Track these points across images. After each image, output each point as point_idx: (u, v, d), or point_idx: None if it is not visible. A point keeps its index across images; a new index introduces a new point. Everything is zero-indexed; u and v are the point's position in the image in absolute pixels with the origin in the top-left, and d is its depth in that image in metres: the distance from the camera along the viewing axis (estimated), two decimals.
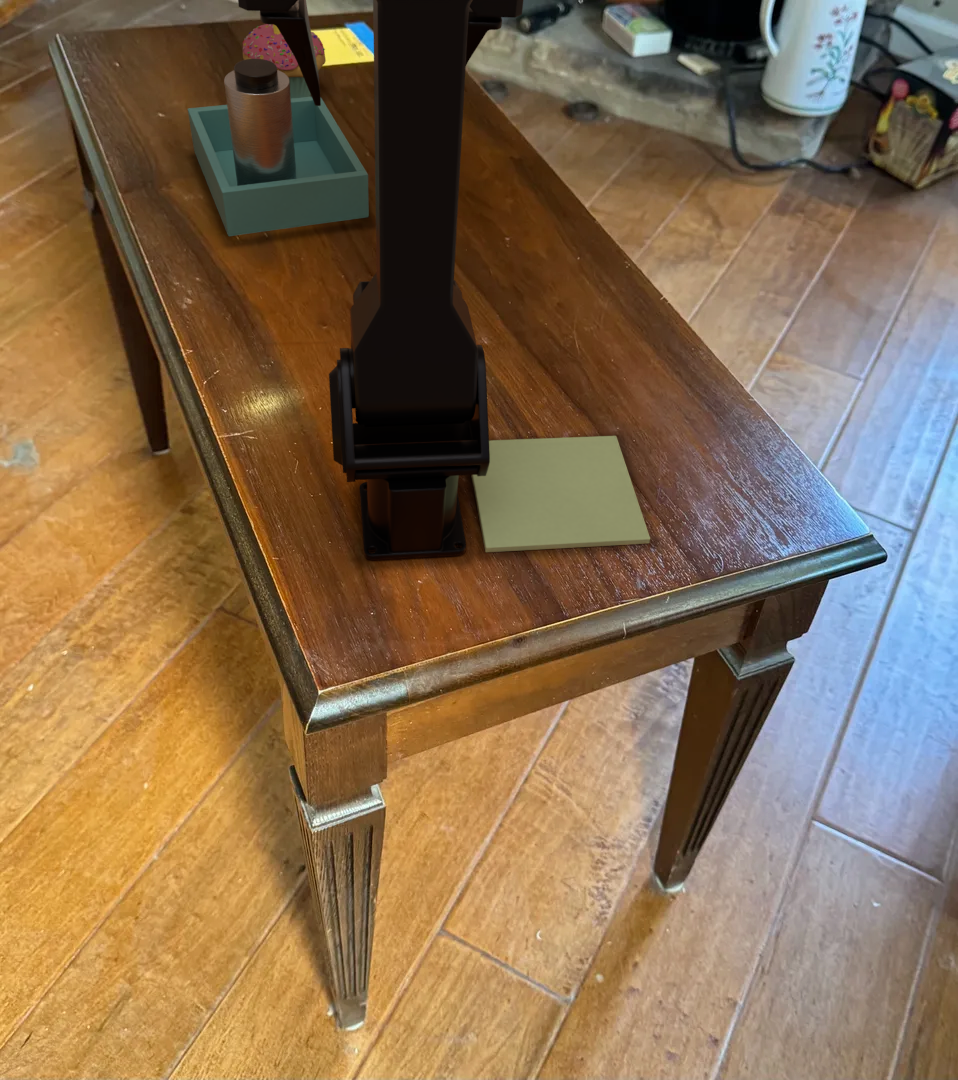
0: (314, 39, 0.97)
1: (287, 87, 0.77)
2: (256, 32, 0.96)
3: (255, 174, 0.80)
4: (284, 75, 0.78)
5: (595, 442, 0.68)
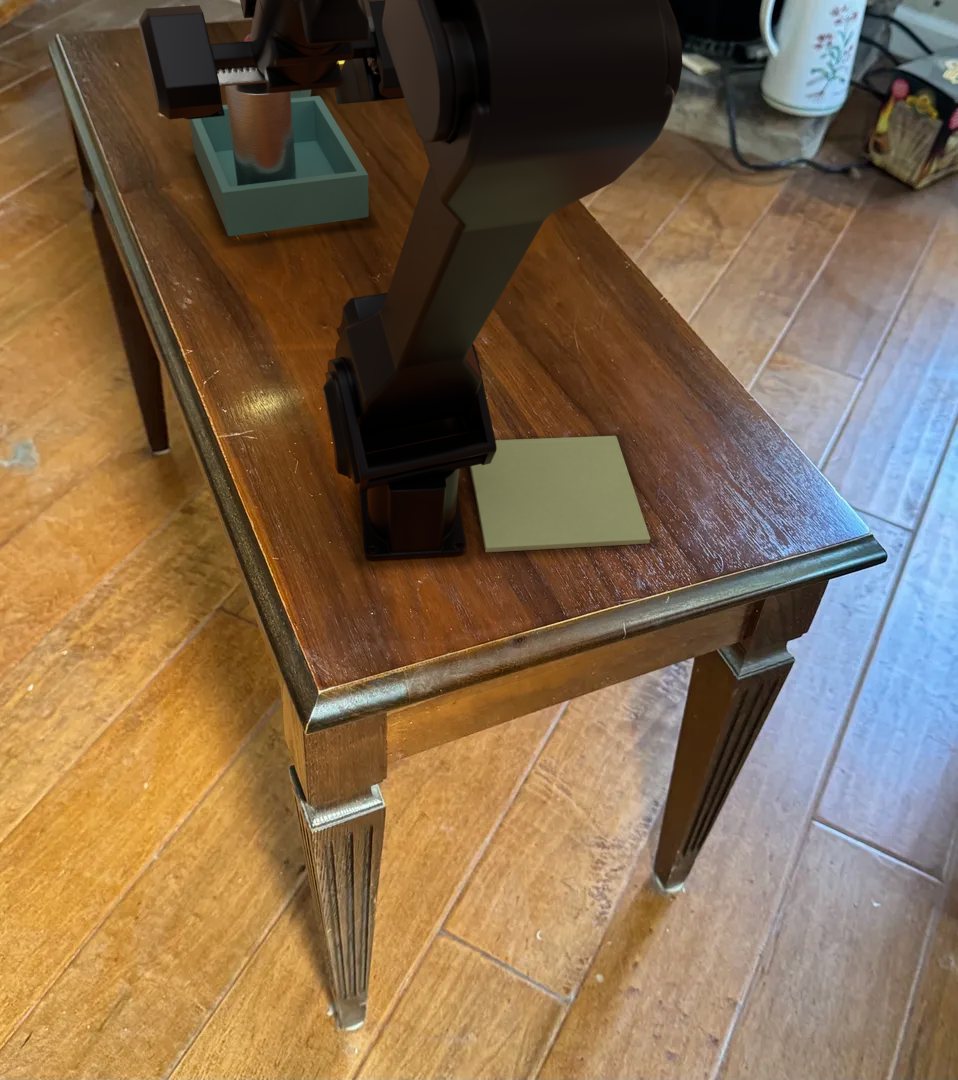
0: None
1: None
2: None
3: (255, 174, 0.80)
4: None
5: (595, 442, 0.68)
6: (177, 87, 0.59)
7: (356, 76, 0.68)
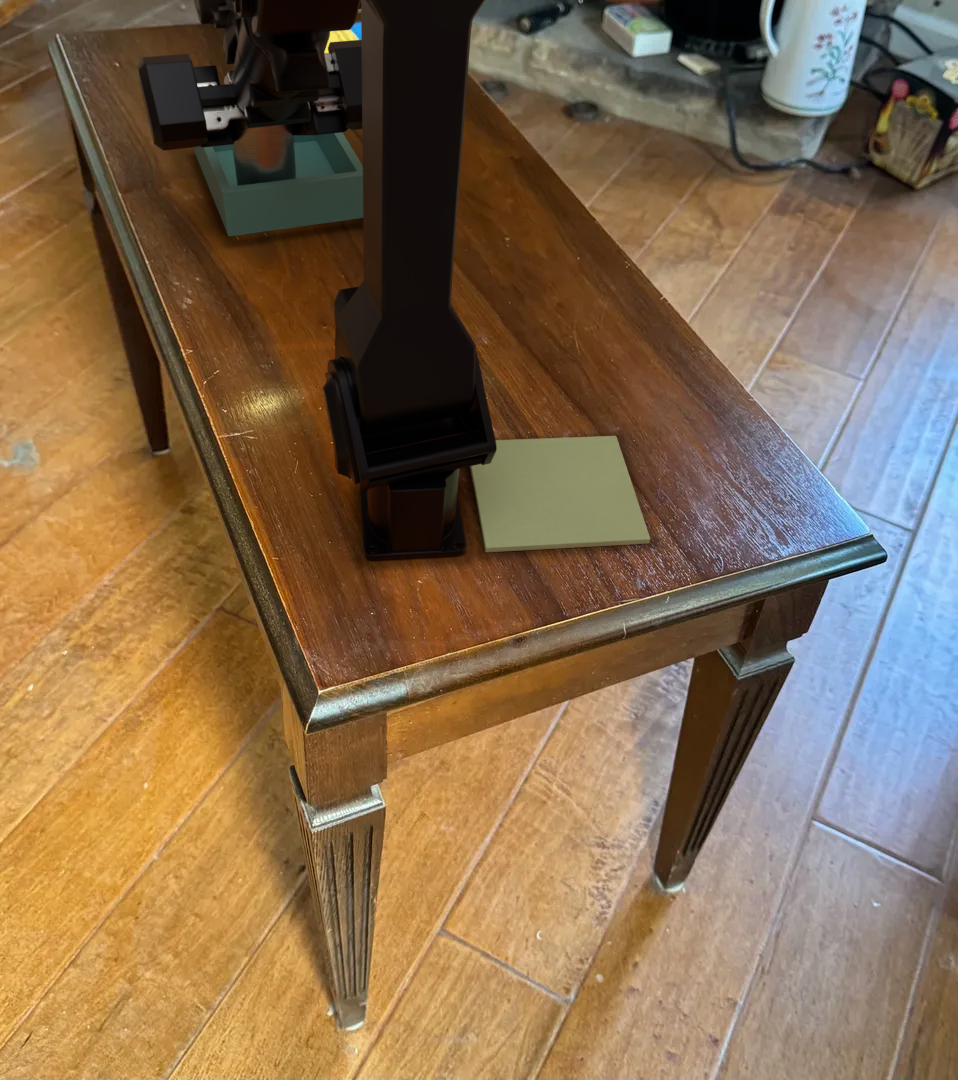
0: None
1: None
2: None
3: (255, 174, 0.80)
4: None
5: (595, 442, 0.68)
6: (169, 124, 0.70)
7: None
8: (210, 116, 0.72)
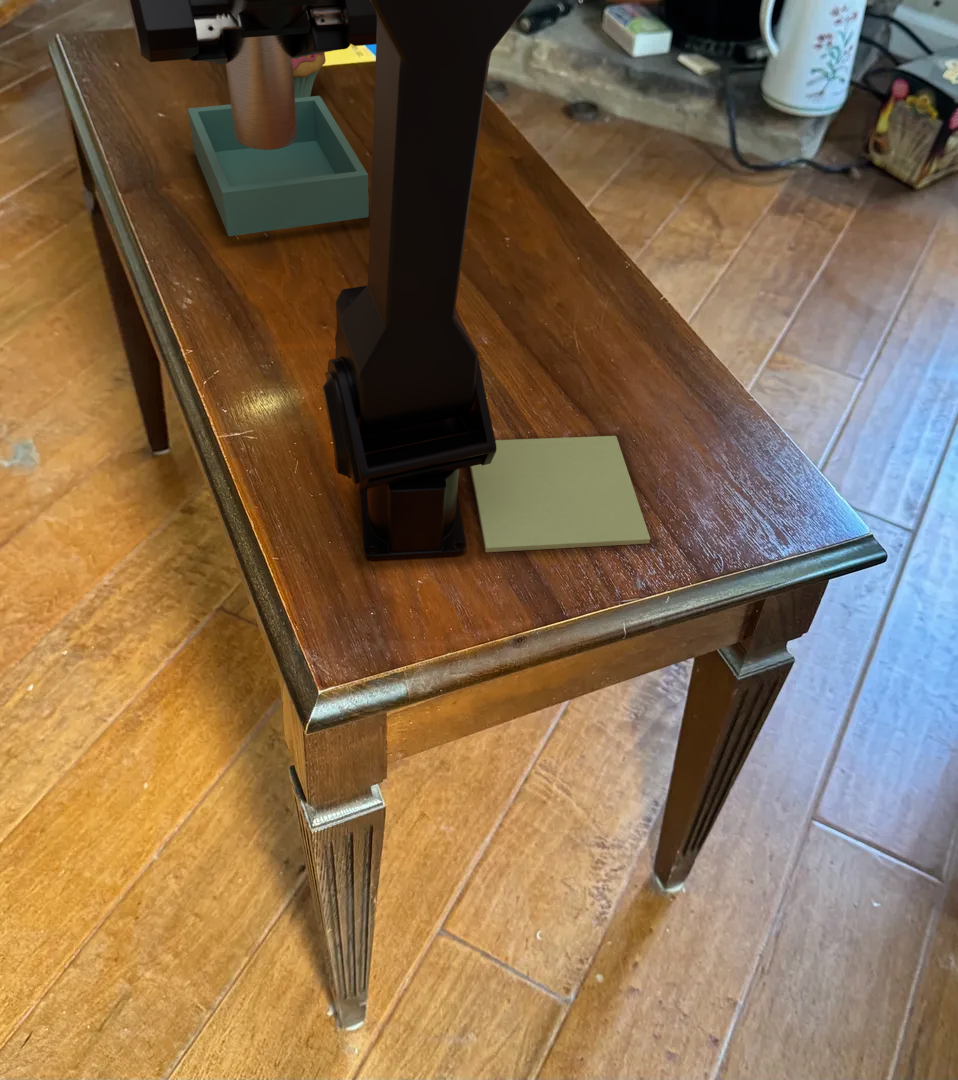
0: None
1: None
2: None
3: (250, 98, 0.75)
4: None
5: (595, 442, 0.68)
6: (156, 30, 0.65)
7: None
8: (201, 24, 0.67)
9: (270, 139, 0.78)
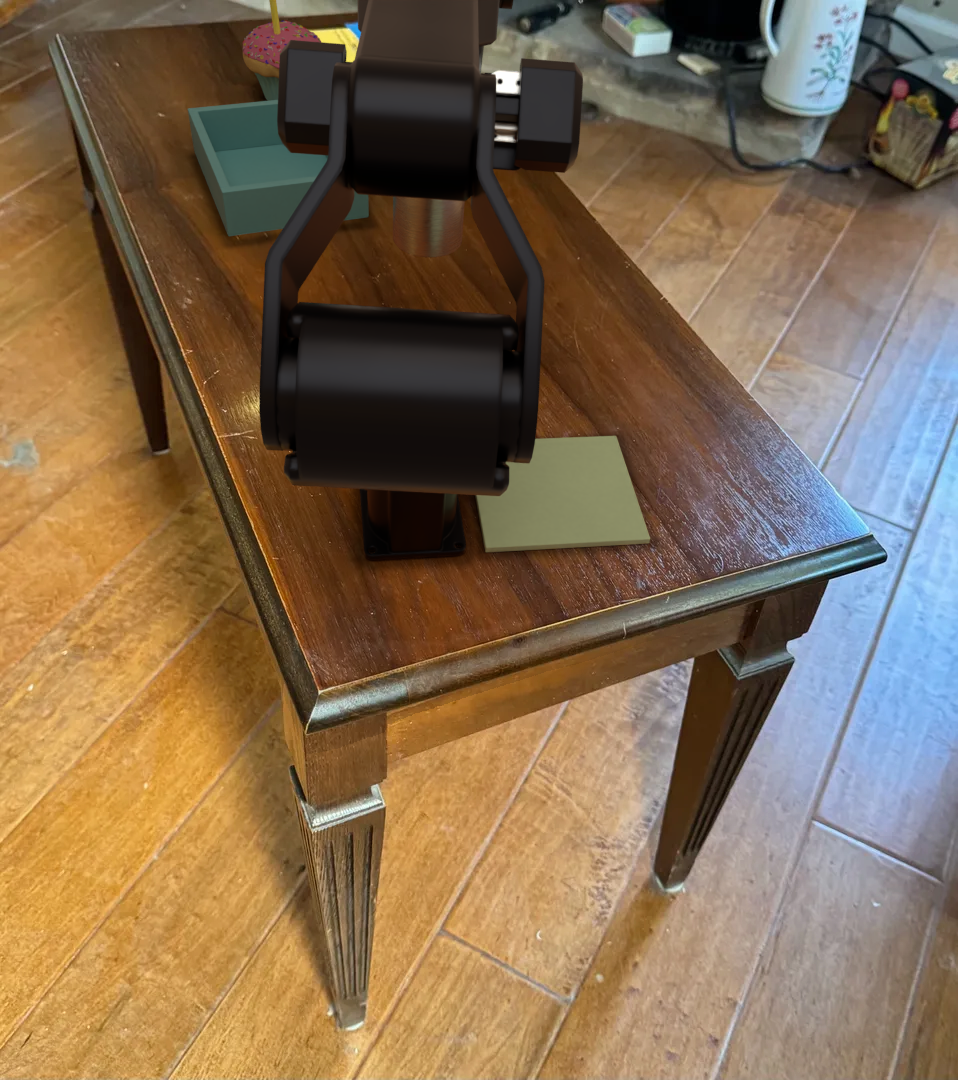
0: (314, 39, 0.97)
1: None
2: (256, 32, 0.96)
3: (409, 200, 0.66)
4: None
5: (595, 442, 0.68)
6: (296, 122, 0.57)
7: None
8: None
9: (424, 246, 0.69)
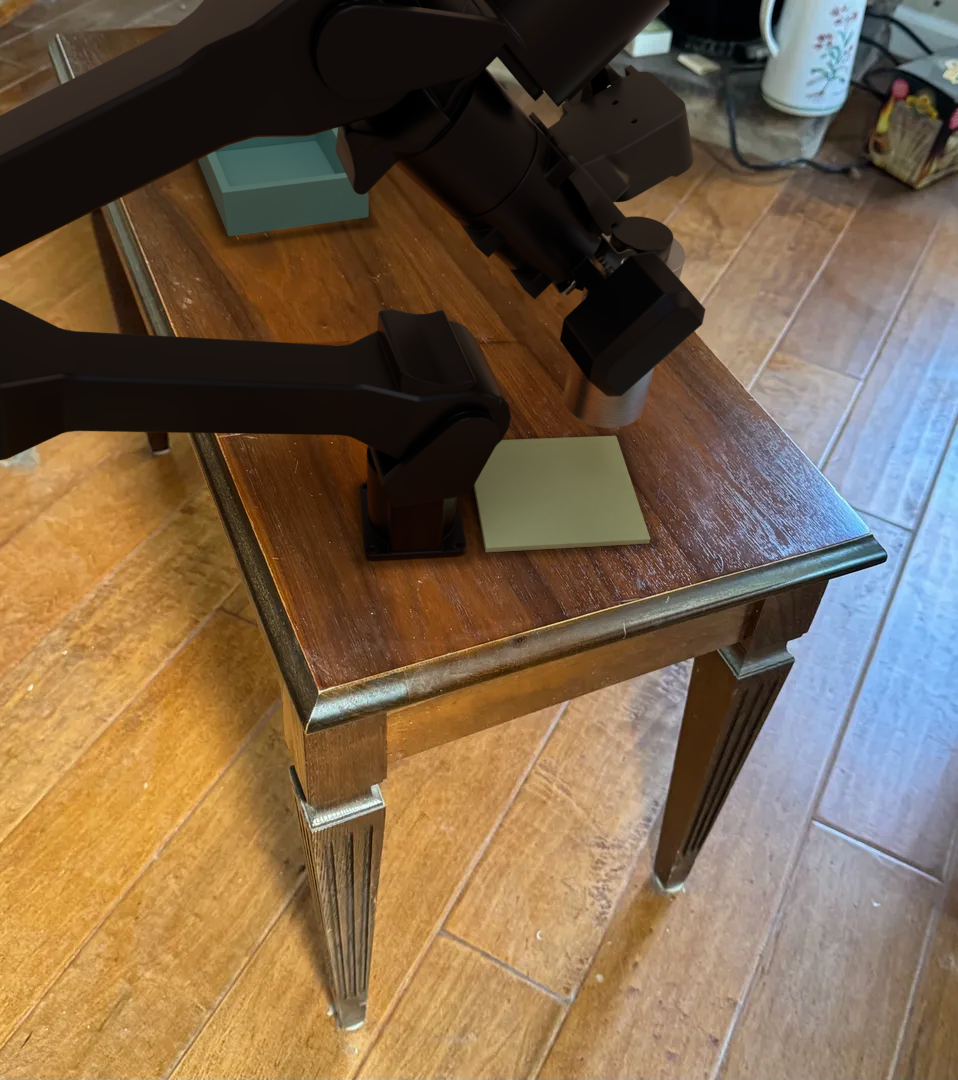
0: None
1: None
2: None
3: None
4: None
5: (595, 442, 0.68)
6: None
7: None
8: None
9: (568, 396, 0.59)
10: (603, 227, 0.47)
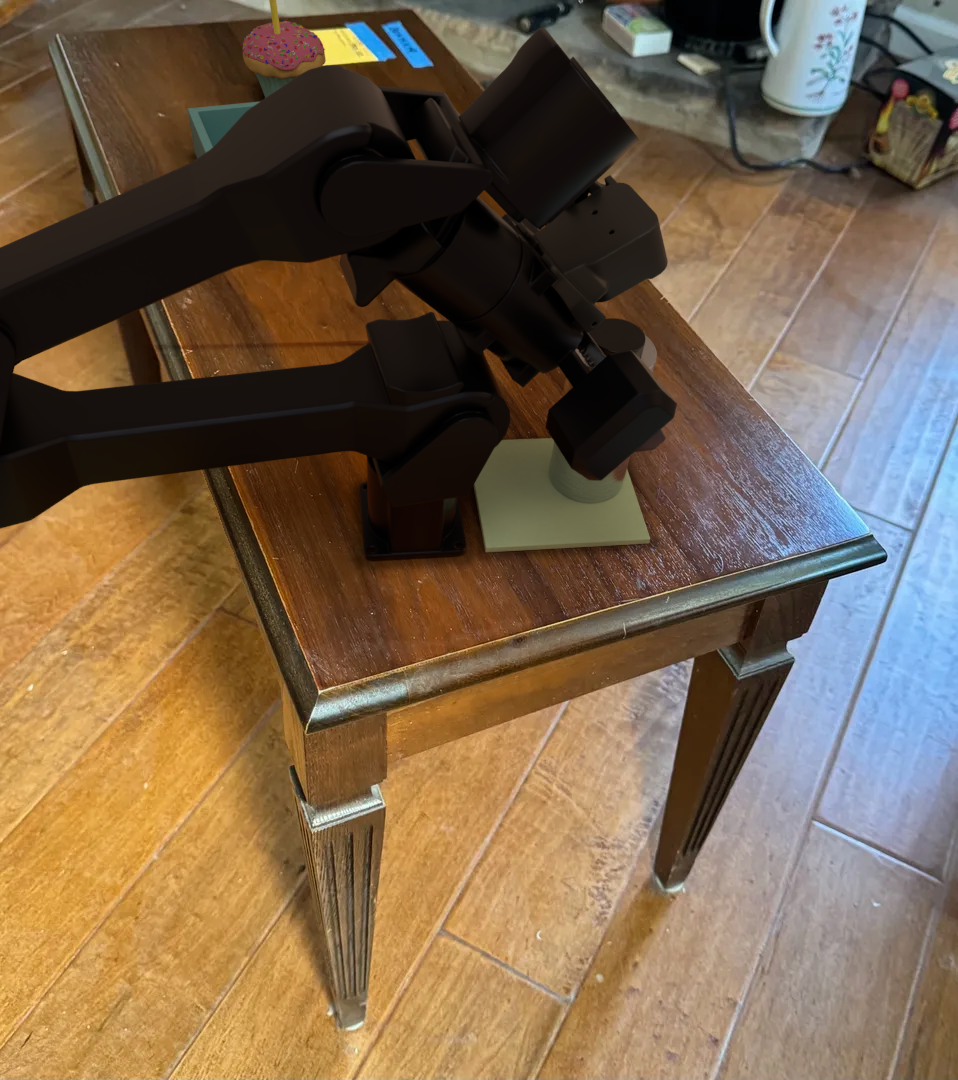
0: (314, 39, 0.97)
1: None
2: (256, 32, 0.96)
3: None
4: None
5: None
6: None
7: None
8: None
9: (552, 473, 0.64)
10: (584, 325, 0.51)
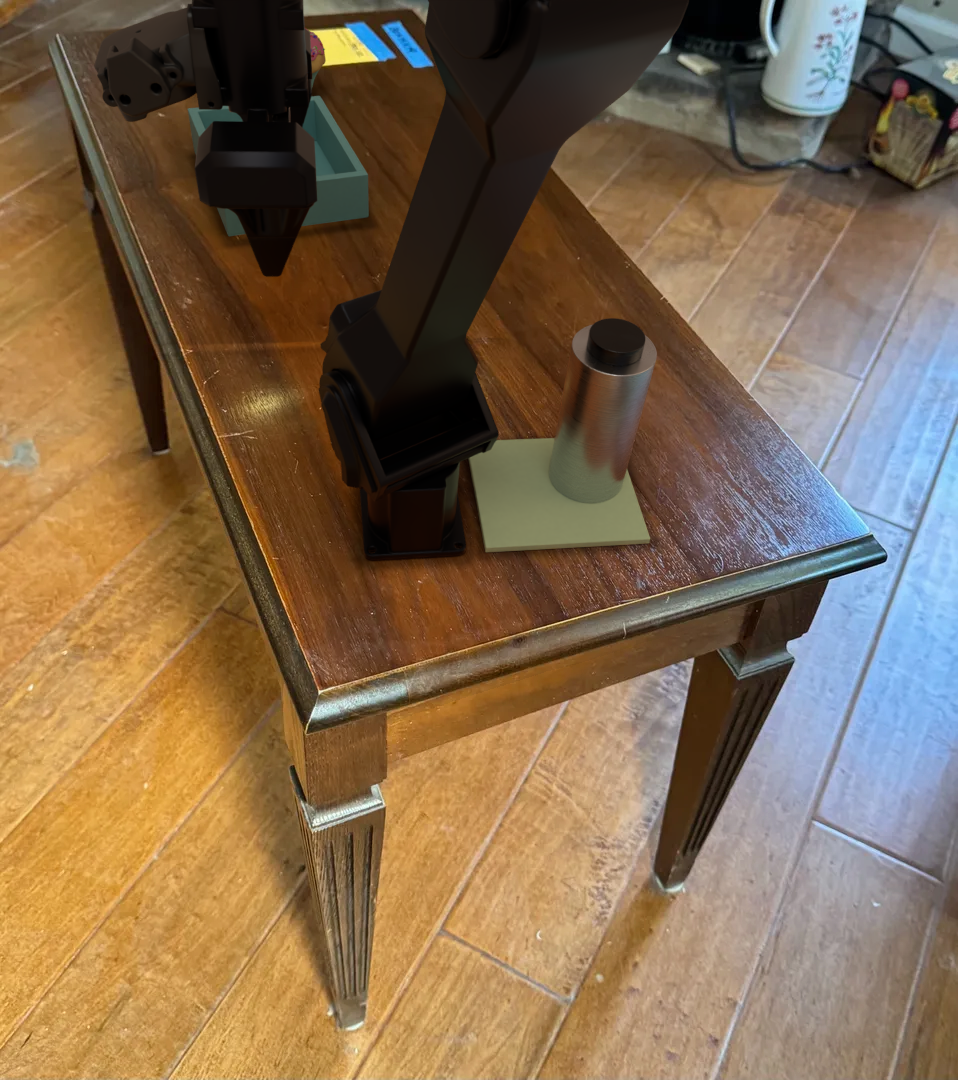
0: (314, 39, 0.97)
1: (609, 376, 0.56)
2: None
3: None
4: (638, 371, 0.56)
5: None
6: (296, 146, 0.49)
7: None
8: None
9: (552, 473, 0.64)
10: None
